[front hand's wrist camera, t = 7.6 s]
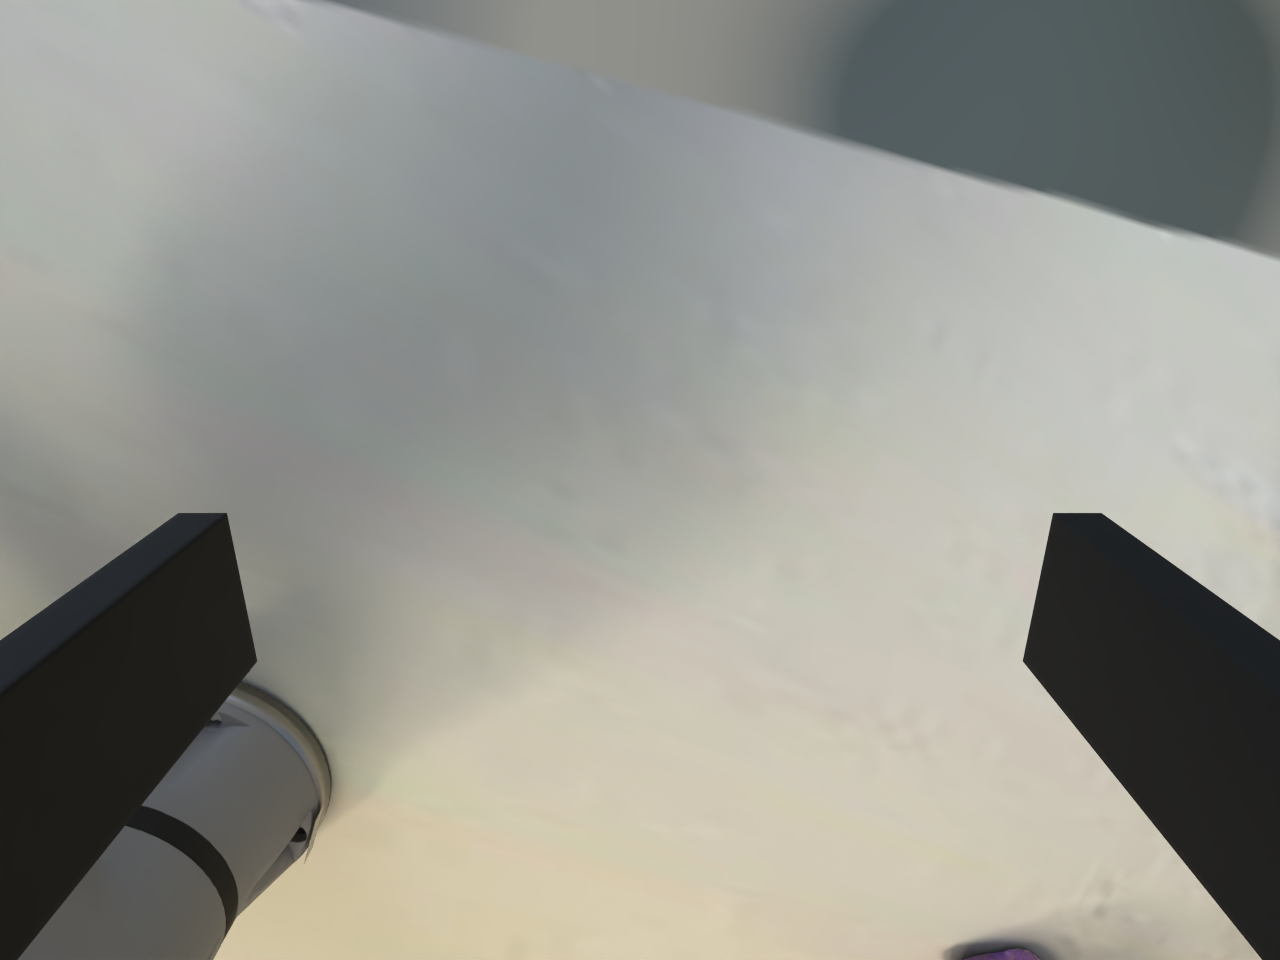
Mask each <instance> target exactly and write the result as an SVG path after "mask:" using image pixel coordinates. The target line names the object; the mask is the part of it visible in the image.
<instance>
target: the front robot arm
mask: <svg viewBox="0 0 1280 960" xmlns="http://www.w3.org/2000/svg"><path fill="white" fill-rule="evenodd" d="M256 662H257V658H256V653H255V648H254V643H253V639H252V634H251V629H250V624H249V619H248V614H247V609H246V604H245V600H244V595H243V590H242V585H241V580H240V575H239V570H238V565H237V560H236V556H235V551H234V546H233V541H232V536H231V531H230V526H229V521H228V517H227V513H178V514H177V515H175V516H174V517H173V518H171V519H170V520H168V521H167V522H166V523H164V524H163V525H161V526H160V527H159V528H157V529H156V530H154V531H153V532H152V533H150V534H149V535H147V536H146V537H145V538H143V539H142V540H140V541H139V542H138V543H136V544H135V545H133V546H132V547H131V548H129V549H128V550H126V551H125V552H124V553H122V554H121V555H119V556H118V557H117V558H115V559H114V560H112V561H111V562H110V563H108V564H107V565H105V566H104V567H103V568H101V569H100V570H98V571H97V572H96V573H94V574H93V575H91V576H90V577H89V578H87V579H86V580H84V581H83V582H82V583H80V584H79V585H77V586H76V587H75V588H73V589H72V590H70V591H69V592H68V593H66V594H65V595H63V596H62V597H61V598H59V599H58V600H56V601H55V602H54V603H52V604H51V605H49V606H48V607H47V608H45V609H44V610H42V611H41V612H40V613H38V614H37V615H35V616H34V617H33V618H31V619H30V620H28V621H27V622H26V623H24V624H23V625H21V626H20V627H19V628H17V629H16V630H14V631H13V632H12V633H10V634H9V635H7V636H6V637H5V638H3V639H2V640H0V960H213V959H214V957H215V955H216V953H217V952H218V950H219V948H220V946H221V944H222V942H223V940H224V938H225V937H226V935H227V933H228V931H229V929H230V928H231V926H232V924H233V922H234V921H235V919H236V917H237V916H238V915H239V914H240V913H241V912H242V911H243V910H244V909H246V908H247V907H248V906H249V905H250V904H251V903H252V902H253V901H254V900H255V899H256V898H257V897H258V896H259V895H260V894H261V893H262V892H263V891H264V890H265V889H267V888H268V887H269V886H270V885H271V884H272V883H273V882H274V881H275V880H276V879H277V878H278V877H279V876H280V875H281V874H282V873H283V872H284V871H285V870H286V869H287V868H289V867H290V866H291V865H292V864H293V863H294V862H295V861H296V860H297V859H298V858H299V857H300V856H301V855H302V854H303V853H304V852H305V850H306V849H307V848H308V851H307V854H306V858H305V861H306V859H307V857H308V855H309V853H310V851H311V849H312V847H313V843H314V840H315V836H316V832H317V830H318V828H319V826H320V824H321V822H322V820H323V818H324V815H325V813H326V810H327V807H328V803H329V799H330V775H329V770H328V766H327V763H326V760H325V757H324V754H323V752H322V750H321V748H320V746H319V744H318V743H317V741H316V740H315V738H314V736H313V735H312V734H311V732H310V731H309V730H308V728H307V727H306V726H305V725H304V724H303V723H302V722H301V721H300V720H299V718H297V717H296V716H295V715H294V714H293V713H292V712H291V711H290V710H289V709H287V708H286V707H285V706H283V705H282V704H281V703H279V702H278V701H276V700H275V699H273V698H272V697H270V696H268V695H267V694H265V693H263V692H261V691H259V690H257V689H255V688H253V687H251V686H248V685H246V684H243V683H241V681H242V679H243V678H244V677H245V676H246V674H247V673H248V672H249V671H250V669H251V668H252V667H253V666H254V664H255V663H256ZM1023 662H1024V663H1025V664H1026V666H1027V667H1028V668H1029V669H1030V671H1031V672H1032V673H1033V674H1034V676H1035V677H1036V678H1037V679H1038V681H1039V682H1040V683H1041V684H1042V686H1043V687H1044V688H1045V689H1046V691H1047V692H1048V693H1049V694H1050V696H1051V697H1052V698H1053V699H1054V701H1055V702H1056V703H1057V704H1058V706H1059V707H1060V708H1061V709H1062V711H1063V712H1064V713H1065V714H1066V716H1067V717H1068V718H1069V719H1070V720H1071V722H1072V723H1073V724H1074V725H1075V727H1076V728H1077V729H1078V730H1079V732H1080V733H1081V734H1082V735H1083V737H1084V738H1085V739H1086V740H1087V742H1088V743H1089V744H1090V745H1091V747H1092V748H1093V749H1094V750H1095V752H1096V753H1097V754H1098V755H1099V757H1100V758H1101V759H1102V760H1103V762H1104V763H1105V764H1106V765H1107V767H1108V768H1109V769H1110V770H1111V772H1112V773H1113V774H1114V775H1115V777H1116V778H1117V779H1118V780H1119V782H1120V783H1121V784H1122V785H1123V787H1124V788H1125V789H1126V790H1127V792H1128V793H1129V794H1130V795H1131V797H1132V798H1133V799H1134V800H1135V802H1136V803H1137V804H1138V805H1139V807H1140V808H1141V809H1142V810H1143V812H1144V813H1145V814H1146V815H1147V816H1148V818H1149V819H1150V820H1151V821H1152V823H1153V824H1154V825H1155V826H1156V828H1157V829H1158V830H1159V831H1160V833H1161V834H1162V835H1163V836H1164V838H1165V839H1166V840H1167V841H1168V843H1169V844H1170V845H1171V846H1172V848H1173V849H1174V850H1175V851H1176V853H1177V854H1178V855H1179V856H1180V858H1181V859H1182V860H1183V861H1184V863H1185V864H1186V865H1187V866H1188V868H1189V869H1190V870H1191V871H1192V873H1193V874H1194V875H1195V876H1196V878H1197V879H1198V880H1199V881H1200V883H1201V884H1202V885H1203V886H1204V888H1205V889H1206V890H1207V891H1208V893H1209V894H1210V895H1211V896H1212V898H1213V899H1214V900H1215V901H1216V903H1217V904H1218V905H1219V906H1220V908H1221V909H1222V910H1223V911H1224V912H1225V914H1226V915H1227V916H1228V917H1229V919H1230V920H1231V921H1232V922H1233V924H1234V925H1235V926H1236V927H1237V929H1238V930H1239V931H1240V932H1241V934H1242V935H1243V936H1244V937H1245V939H1246V940H1247V941H1248V942H1249V944H1250V945H1251V946H1252V947H1253V949H1254V950H1255V951H1256V952H1257V954H1258V955H1259V956H1260V957H1261V959H1262V960H1280V640H1278V639H1277V638H1275V637H1274V636H1273V635H1271V634H1270V633H1268V632H1267V631H1266V630H1264V629H1263V628H1261V627H1260V626H1259V625H1257V624H1256V623H1254V622H1253V621H1252V620H1250V619H1249V618H1247V617H1246V616H1245V615H1243V614H1242V613H1240V612H1239V611H1238V610H1236V609H1235V608H1233V607H1232V606H1231V605H1229V604H1228V603H1226V602H1225V601H1224V600H1222V599H1221V598H1219V597H1218V596H1217V595H1215V594H1214V593H1212V592H1211V591H1210V590H1208V589H1207V588H1205V587H1204V586H1203V585H1201V584H1200V583H1198V582H1197V581H1196V580H1194V579H1193V578H1191V577H1190V576H1189V575H1187V574H1186V573H1184V572H1183V571H1182V570H1180V569H1179V568H1177V567H1176V566H1175V565H1173V564H1172V563H1170V562H1169V561H1168V560H1166V559H1165V558H1163V557H1162V556H1161V555H1159V554H1158V553H1156V552H1155V551H1154V550H1152V549H1151V548H1149V547H1148V546H1147V545H1145V544H1144V543H1142V542H1141V541H1140V540H1138V539H1137V538H1135V537H1134V536H1133V535H1131V534H1130V533H1128V532H1127V531H1126V530H1124V529H1123V528H1121V527H1120V526H1119V525H1117V524H1116V523H1114V522H1113V521H1112V520H1110V519H1109V518H1107V517H1106V516H1105V515H1103V514H1102V513H1053V517H1052V521H1051V526H1050V531H1049V536H1048V541H1047V546H1046V551H1045V556H1044V560H1043V565H1042V570H1041V575H1040V580H1039V585H1038V590H1037V595H1036V600H1035V604H1034V609H1033V614H1032V619H1031V624H1030V629H1029V634H1028V639H1027V643H1026V648H1025V653H1024V658H1023ZM308 846H309V847H308ZM304 863H305V862H304Z"/></svg>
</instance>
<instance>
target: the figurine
mask: <svg viewBox="0 0 1280 960" xmlns="http://www.w3.org/2000/svg"><path fill="white" fill-rule="evenodd" d="M963 960H1041V959H1040V958H1038V957H1037V956H1036V955H1034V954H1033V953H1032V952H1030V951H1029V950H1026V949H1021V948H1015V949H1008V950H1006V951H1004V952H996V953H988V954H981V955H977V956H973V957H970V958H967V959H963Z"/></svg>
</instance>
